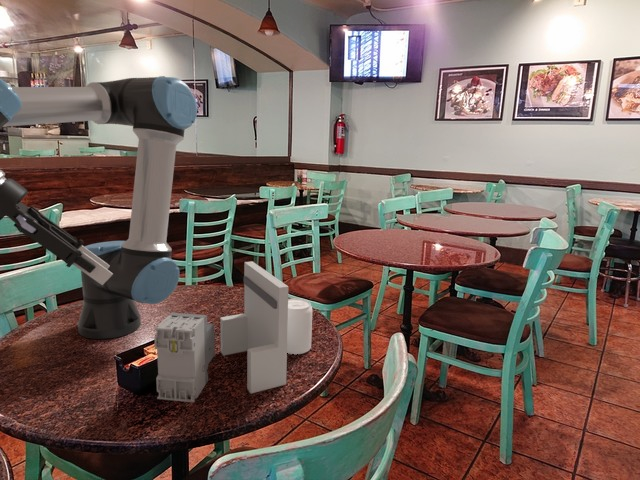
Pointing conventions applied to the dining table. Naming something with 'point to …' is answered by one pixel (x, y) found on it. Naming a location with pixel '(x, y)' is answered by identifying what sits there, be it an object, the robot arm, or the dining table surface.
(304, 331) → the beverage can
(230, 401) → the dining table surface
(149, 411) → the dining table surface
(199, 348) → the circuit breaker
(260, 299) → the grey upright angular piece
